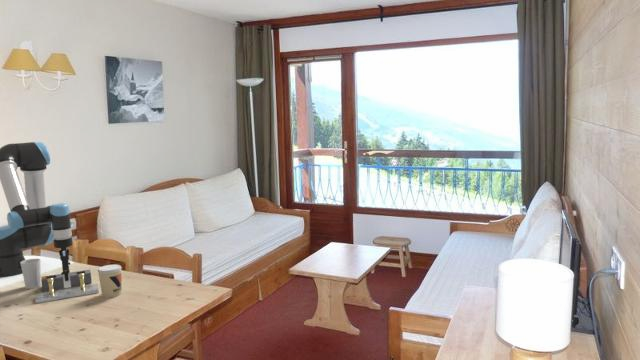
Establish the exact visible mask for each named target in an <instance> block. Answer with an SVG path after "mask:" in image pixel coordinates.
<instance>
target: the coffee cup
mask: <svg viewBox="0 0 640 360" xmlns="http://www.w3.org/2000/svg"><path fill="white" fill-rule="evenodd" d="M122 268H123V267H122V266H121V265H120V264H106V265H102V266H101V267H98V270H97V273H98V280H99V285H100V290H101V296H102V297H103V298H114V297H118V296H120V295H122V292H123V291H122Z"/></svg>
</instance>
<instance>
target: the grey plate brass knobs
mask: <svg viewBox="0 0 640 360" xmlns="http://www.w3.org/2000/svg"><path fill="white" fill-rule="evenodd" d="M79 278H80V285H79V286H76V287H70V288H64V289H57V290H55V289H53V278H48V279H47V281H48V283H49V290H48V291H47V292H46V291H45V292H41V293H36V294H35V304H41V303H47V302H53V301H58V300H65V299H70V298H76V297H81V296H88V295H94V294H99V286H98V283H97V284H88V285H84V273H80V274H79Z"/></svg>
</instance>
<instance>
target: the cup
mask: <svg viewBox="0 0 640 360" xmlns="http://www.w3.org/2000/svg"><path fill="white" fill-rule="evenodd" d="M41 261H42V260H41V258H29V259H25V260H24V261H22V262H20V263H21V268H22V272H23V273H22V276H23V280H24V286H25V287H24V288H25V289H27V290H33V289H37V288H40V287H42V282H41V279H42V274H41V271H42V270H41V268H42V267H41V265H42V264H41Z"/></svg>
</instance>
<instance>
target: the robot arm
mask: <svg viewBox="0 0 640 360" xmlns="http://www.w3.org/2000/svg"><path fill="white" fill-rule="evenodd" d="M50 164H51V155H50V151H49V149H48V147H47V145H46V144H45V143H43V142H40V141H31V142H30V141H29V142H21V143H20V142H17V143H8V144H4V145H3V146H1V147H0V184H1V187H2V190H3V194H4V196H5V198H6V202H7V205H8V208H9V212H8V213H7V214H6V215H7V216H6V221H7V225H3V226H1V227H0V277H9V276H15V275H19V274H23V272H22V268H21V263H20V262H22V261H24V260H26V258H25V256H24V252H23V250H26V249H32V248H36V247H37V248H38V247H45V246H47V245H51V244H52V243H53V248H55V249H60V250H59V251H58V252H59V256H60V257H59V258H60V261H61V267H62V272H60V274H61V275H62V274H63V281H64V288H63V289H70V288H72V287H71V282H70V272H71V271H70V270H71V269H70V266H71V262H69V260H70V249H68V248H70V247H72V246H73V244H74V243H73V237H72V236H73V233H72V226H71V218H70V217H71V215H70V213H71V212H70V211H71V210H70V208H69V207H70V206H69V204H68V203H63V202H61V203H53V204H51V205H47V203H46V192H45V191H46V189H45V177H44V176H45V174H44V173H45V171H46V170H47V169H48V168H47V166H48V165H50ZM18 168H19V170H20V171H21V172H22V173H23V177H24V178H23V179H24V188H23V185H22V182H21V180H20V177H19V174H18V171H17V170H18ZM24 190H25V191H24Z"/></svg>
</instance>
